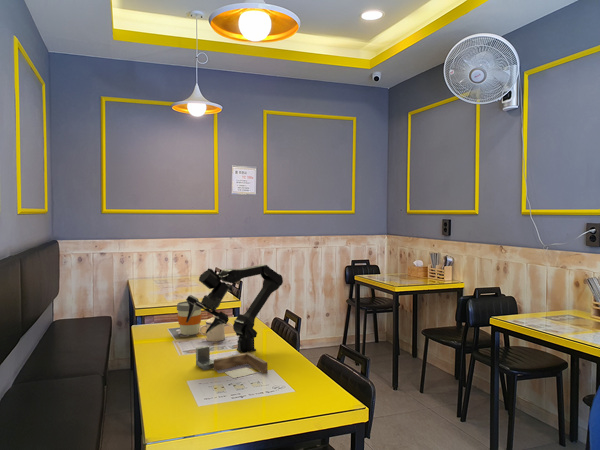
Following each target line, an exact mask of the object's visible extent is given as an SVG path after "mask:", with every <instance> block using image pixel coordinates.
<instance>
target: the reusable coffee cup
mask: <svg viewBox="0 0 600 450" xmlns="http://www.w3.org/2000/svg"><path fill="white" fill-rule="evenodd" d="M199 302H200V303H201V301H199ZM195 308H196V310H195V311H194V313H193V315H192V316H191V318H190V320H189V321H188V322H186V320H187V316H188V313H189V305H188V303H187V301H180V302H178V303H177V304H176V311H177V321H178V325H179V328H180V335H184V336H191V335H193V336H194V335H197V334H199V333H200V327H201V326H200V324H201V323H202V310H203V309H202V308H200V307H198V306H196V307H195Z"/></svg>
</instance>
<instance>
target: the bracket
mask: <svg viewBox="0 0 600 450" xmlns="http://www.w3.org/2000/svg"><path fill="white" fill-rule="evenodd" d="M210 351H211V349H210V346H209V345H203V346H198V347H195V366H197V367H199V368H200V369H201V370H203V371H208V370H212V369H213V370H214V360H213V359H211V357H210V354H211V353H210Z"/></svg>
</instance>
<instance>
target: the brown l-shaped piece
mask: <svg viewBox="0 0 600 450" xmlns="http://www.w3.org/2000/svg"><path fill="white" fill-rule="evenodd" d="M213 361H214V368H213V370H214V371H215V372H217V371H222V370H226V369H230V368H235V367H240V366H244V365H248V366H250V367H251V368H253V369H255V370H257V371H258V372H260V373H262V374H264V375H265V374H268V372H269V371H268V361H265V360H264V359H262V358H260V357H257V356H256V355H254V354H252V353H250V352H246V353H238V354H234V355H230V356H225V357H219V358H215V359H213Z"/></svg>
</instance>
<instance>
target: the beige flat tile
mask: <svg viewBox="0 0 600 450" xmlns="http://www.w3.org/2000/svg"><path fill="white" fill-rule="evenodd" d="M223 374H226V375H227V376H229V377H230V378H232V379H233V378H234V379H238V378H241V377H247V376H251V375H254V374H257V371H256V372H255V370H252V369H250V368H249V367H247V366H245V367H242V368H237V369H233V370H229V371H225V372H223ZM237 377H238V378H237Z"/></svg>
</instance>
